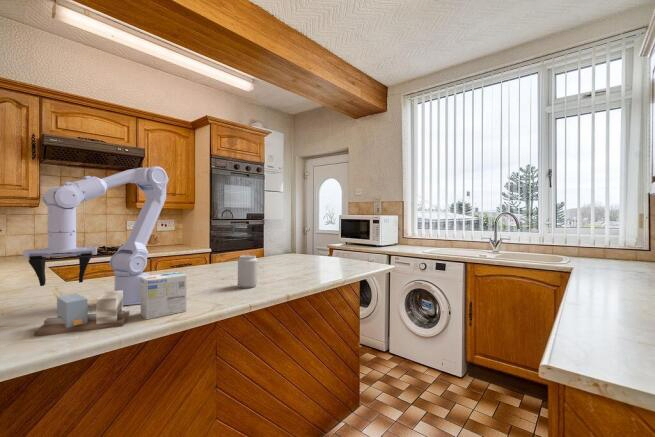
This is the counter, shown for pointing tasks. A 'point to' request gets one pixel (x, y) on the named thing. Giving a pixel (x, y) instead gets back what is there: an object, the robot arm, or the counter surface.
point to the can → (247, 271)
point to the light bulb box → (162, 294)
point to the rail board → (92, 316)
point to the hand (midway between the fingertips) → (62, 283)
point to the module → (72, 309)
